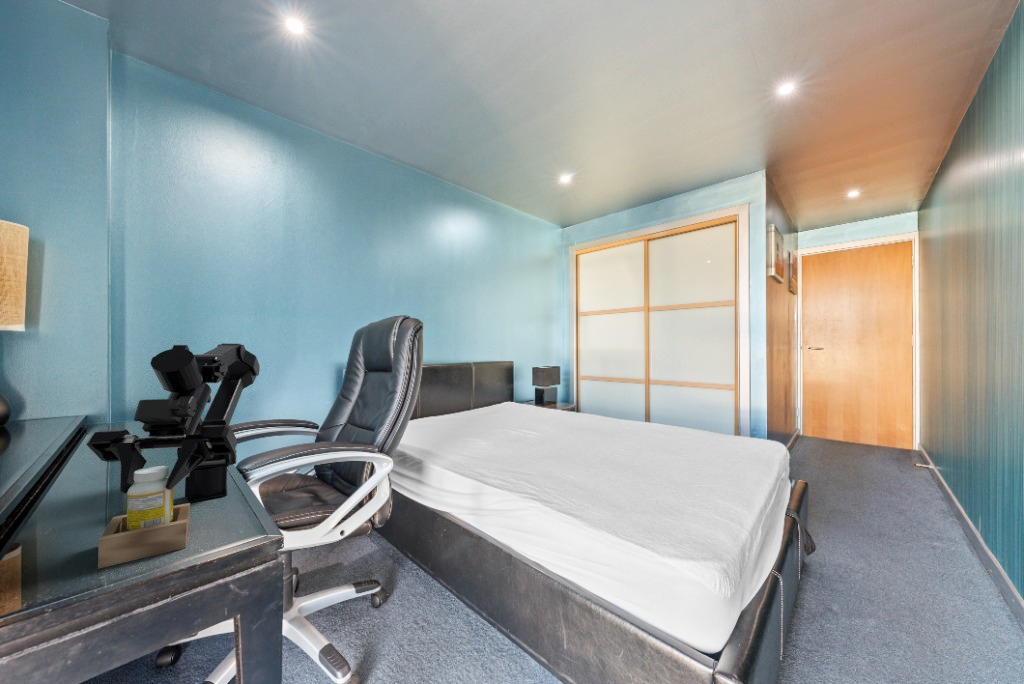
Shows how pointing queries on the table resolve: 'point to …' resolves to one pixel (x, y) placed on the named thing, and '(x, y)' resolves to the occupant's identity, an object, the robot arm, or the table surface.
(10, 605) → the table surface
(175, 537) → the walnut holder
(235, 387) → the robot arm
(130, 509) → the supplement bottle
